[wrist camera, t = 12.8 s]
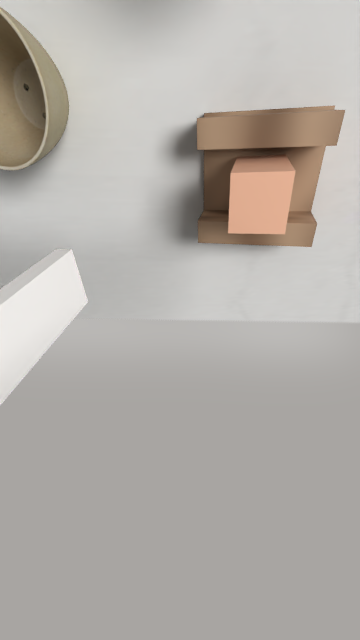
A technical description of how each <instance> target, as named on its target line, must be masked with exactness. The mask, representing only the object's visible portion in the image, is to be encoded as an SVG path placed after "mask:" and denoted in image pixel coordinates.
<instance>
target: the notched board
mask: <svg viewBox="0 0 360 640" xmlns="http://www.w3.org/2000/svg"><path fill="white" fill-rule="evenodd" d="M334 108H335V106H320V107H304V108H287V109H270V110H253V111H236V112H219V113H204V117H202V118H197V150H204V211H203V212H202V214H201V216H200V218H199V220H198V243H222V244H249V245H276V246H303V247H311V246H312V242H313V238H314V234H315V230H316V226H317V222H316V221H315V219H314V217H313V215H312V213H311V209H312V204H313V200H314V196H315V191H316V187H317V182H318V178H319V174H320V169H321V165H322V160H323V156H324V152H325V147H326V146H335V145H337V141H338V137H339V133H340V129H341V125H342V121H343V117H344V113H345V110H334ZM284 154H286V156H287V158H288V159H289V161H290V163H291V164H292V166H293V168H294V169H295V177H294V183H293V189H292V195H291V201H290V207H289V213H288V219H287V225H286V231H285V234H237V233H228V223H229V199H230V176H231V171H232V169H233V166H234V164H235V161H236V159H237V157H238V156H260V155H284Z"/></svg>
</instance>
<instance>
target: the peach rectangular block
mask: <svg viewBox="0 0 360 640" xmlns="http://www.w3.org/2000/svg"><path fill="white" fill-rule="evenodd" d="M294 177H295V169H294V168H293V166H292V164H291V163H290V161H289V159H288V158H287V156H286V154H284V155H260V156H238V157H237V159H236V161H235V164H234V166H233V169H232V171H231V176H230V199H229V223H228V233H237V234H285V231H286V225H287V219H288V213H289V207H290V201H291V195H292V189H293V183H294Z"/></svg>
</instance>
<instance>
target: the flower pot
mask: <svg viewBox="0 0 360 640" xmlns="http://www.w3.org/2000/svg"><path fill="white" fill-rule="evenodd" d="M25 88H28V90H26V89H25ZM68 114H69V101H68V95H67V91H66V87H65V84H64V82H63V79H62V77H61V75H60V73H59V71H58V69H57V67H56V65H55V64H54V62H53V61H52V59H51V57H50V56H49V55H48V53H47V52H46V50H45V49H44V48H43V47H42V45H41V44H40V43H39V42H38V41H37V40H36V38H35V37H34V36H33V35H32V34H31V33H30V32H29V31H28V30H27V29H26V28H25V27H24V26H23V25H22V24H21V23H19V22H18V21H17V20H16V19H15V18H14V17H12V16H11V15H10V14H9V13H8V12H6V11H5V10H4V9H2V8H1V7H0V169H2V170H19V169H23V168H25V167H28V166H30V165H32V164H34V163H35V162H37V161H39V160H40V159H42V158H43V157H44V156H45V155H47V154H48V153H49V152H50V151H51V150H52V149H53V148H54V146H55V145H56V144H57V143H58V141H59V140H60V138H61V136H62V134H63V132H64V130H65V127H66V124H67V120H68Z"/></svg>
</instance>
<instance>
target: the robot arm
mask: <svg viewBox="0 0 360 640" xmlns="http://www.w3.org/2000/svg"><path fill="white" fill-rule="evenodd" d="M87 303H88V300H87V296H86V293H85V290H84V287H83V284H82V280H81V277H80V274H79V271H78V267H77V264H76V261H75V258H74V254H73V251H72V249H55V250H54V251H53V252H51V253H50V254H48V255H47V256H46V257H44V258H43V259H41V260H40V261H39V262H37V263H36V264H34V265H33V266H32V267H30V268H29V269H28V270H26V271H25V272H23V273H22V274H21V275H19V276H18V277H16V278H15V279H14V280H12V281H11V282H9V283H8V284H7V285H5V286H4V287H2V288H1V289H0V405H1V404H2V403H3V401H4V400H5V399H6V398H7V397H8V396H9V394H10V393H11V392H12V391H13V390H14V389H15V387H16V386H17V385H18V384H19V383H20V382H21V380H22V379H23V378H24V377H25V376H26V374H27V373H28V372H29V371H30V370H31V369H32V367H33V366H34V365H35V364H36V363H37V361H38V360H39V359H40V358H41V357H42V355H43V354H44V353H45V352H46V351H47V350H48V348H49V347H50V346H51V345H52V344H53V342H54V341H55V340H56V339H57V338H58V337H59V336H60V334H61V333H62V332H63V331H64V330H65V329H66V327H67V326H68V325H69V324H70V323H71V321H72V320H73V319H74V318H75V317H76V316H77V314H78V313H79V312H80V311H81V310H82V309H83V307H84V306H85V305H86V304H87Z"/></svg>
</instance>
